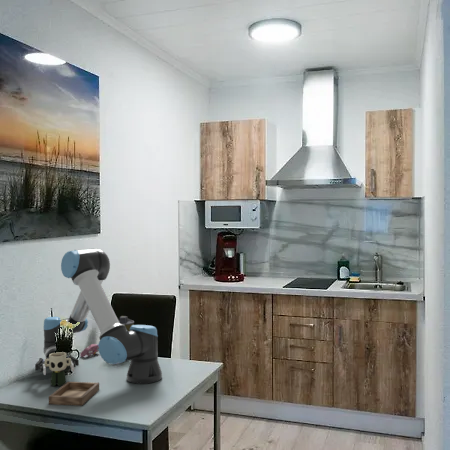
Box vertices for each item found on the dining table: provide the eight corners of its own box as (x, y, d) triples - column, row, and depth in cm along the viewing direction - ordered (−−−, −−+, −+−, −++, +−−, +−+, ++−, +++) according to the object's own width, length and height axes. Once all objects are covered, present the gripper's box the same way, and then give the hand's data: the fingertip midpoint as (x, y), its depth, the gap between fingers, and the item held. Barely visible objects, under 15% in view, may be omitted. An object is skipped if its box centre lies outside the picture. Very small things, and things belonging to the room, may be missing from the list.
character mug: (43, 388, 220) (42, 357, 220) (46, 382, 227) (46, 352, 227) (70, 387, 221) (69, 356, 221) (73, 381, 228) (72, 351, 228)
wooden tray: (99, 389, 217) (99, 382, 217) (82, 405, 200) (82, 397, 200) (68, 388, 219) (68, 381, 219) (48, 404, 202) (48, 396, 202)
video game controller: (84, 361, 264) (89, 349, 262) (78, 355, 266) (83, 344, 264) (98, 356, 272) (103, 345, 271) (93, 351, 274) (97, 340, 273)
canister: (130, 359, 260) (129, 319, 260) (110, 358, 263) (109, 318, 262) (138, 353, 271) (137, 314, 270) (118, 352, 273) (118, 314, 272)
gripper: (80, 361, 245) (87, 375, 224) (27, 367, 236) (29, 382, 216) (80, 345, 245) (87, 357, 224) (27, 350, 236) (29, 364, 215)
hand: (58, 369), depth 220 cm, fingers closed on character mug, 10 cm apart
